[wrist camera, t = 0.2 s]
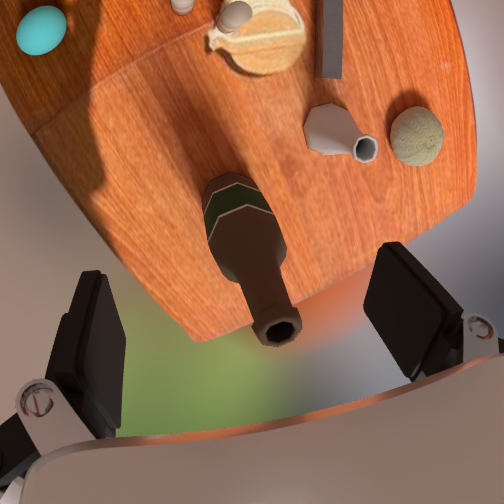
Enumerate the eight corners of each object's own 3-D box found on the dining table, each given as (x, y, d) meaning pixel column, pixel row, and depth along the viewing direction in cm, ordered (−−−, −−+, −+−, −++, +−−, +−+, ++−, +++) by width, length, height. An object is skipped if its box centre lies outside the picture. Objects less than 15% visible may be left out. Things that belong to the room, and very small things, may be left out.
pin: (216, 15, 29) (225, 1, 22) (237, 14, 30) (252, 1, 23) (216, 33, 30) (225, 24, 23) (237, 33, 31) (252, 24, 24)
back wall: (314, -49, 25) (322, -54, 23) (332, -45, 26) (341, -50, 24) (314, 76, 35) (322, 77, 33) (332, 77, 36) (341, 79, 34)
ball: (29, 17, 23) (7, 13, 18) (73, 3, 24) (55, -5, 19) (30, 60, 26) (8, 62, 21) (73, 47, 27) (55, 46, 22)
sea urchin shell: (383, 115, 38) (440, 116, 33) (392, 101, 42) (441, 101, 38) (391, 175, 43) (444, 178, 38) (400, 153, 48) (446, 155, 43)
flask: (304, 100, 37) (339, 112, 29) (354, 105, 38) (398, 120, 30) (299, 154, 41) (331, 180, 33) (348, 155, 42) (387, 181, 34)
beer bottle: (201, 226, 44) (226, 373, 24) (200, 171, 39) (225, 297, 20) (258, 222, 45) (320, 359, 25) (261, 169, 41) (342, 285, 21)
